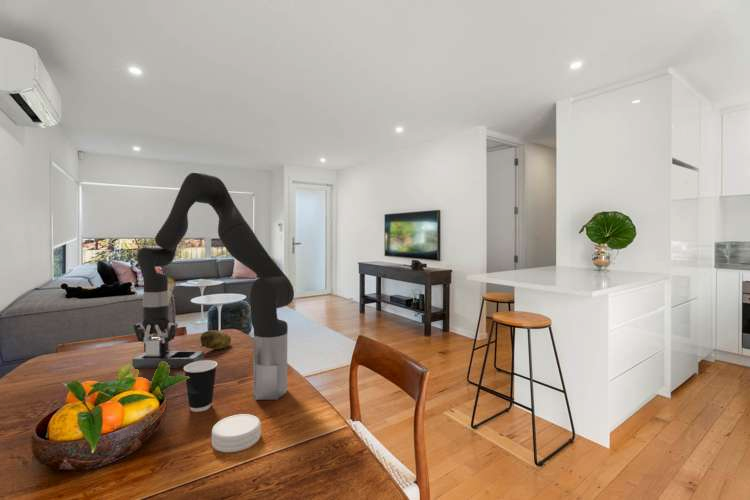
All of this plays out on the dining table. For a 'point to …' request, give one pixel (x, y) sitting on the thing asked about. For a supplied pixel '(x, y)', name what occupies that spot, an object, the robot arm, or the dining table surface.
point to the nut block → (153, 347)
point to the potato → (215, 339)
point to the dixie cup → (200, 384)
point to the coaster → (236, 433)
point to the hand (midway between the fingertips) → (156, 353)
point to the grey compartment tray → (168, 359)
